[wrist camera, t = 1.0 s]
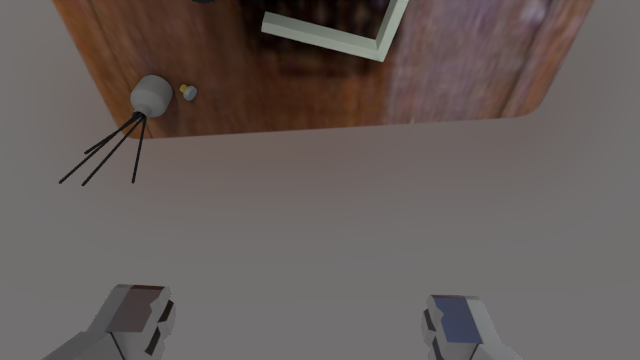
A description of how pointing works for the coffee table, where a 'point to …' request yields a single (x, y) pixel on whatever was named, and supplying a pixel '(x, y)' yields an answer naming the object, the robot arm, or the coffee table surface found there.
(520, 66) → the coffee table surface
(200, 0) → the supplement bottle
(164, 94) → the reed diffuser
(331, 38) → the pale u-shaped frame
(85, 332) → the robot arm
